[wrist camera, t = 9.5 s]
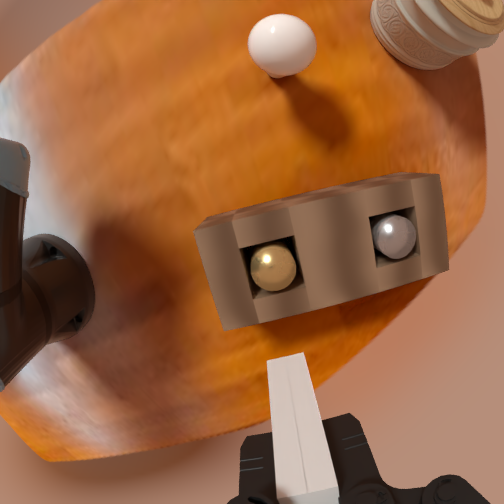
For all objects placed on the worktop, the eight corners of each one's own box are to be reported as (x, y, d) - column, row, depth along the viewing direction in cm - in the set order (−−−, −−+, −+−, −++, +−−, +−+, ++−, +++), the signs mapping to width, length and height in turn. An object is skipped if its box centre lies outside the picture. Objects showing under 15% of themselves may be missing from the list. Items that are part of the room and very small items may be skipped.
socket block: (230, 296, 39) (224, 331, 30) (207, 217, 36) (193, 231, 28) (412, 249, 37) (449, 270, 28) (400, 172, 35) (439, 174, 26)
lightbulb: (314, 76, 32) (337, 42, 22) (270, 104, 33) (278, 76, 23) (281, 37, 31) (291, -8, 20) (237, 64, 32) (232, 24, 21)
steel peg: (355, 246, 36) (380, 265, 28) (348, 209, 35) (373, 220, 27) (388, 237, 35) (419, 254, 28) (382, 201, 34) (414, 210, 27)
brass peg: (254, 271, 36) (255, 297, 29) (245, 234, 35) (242, 252, 28) (292, 262, 36) (302, 286, 28) (283, 225, 35) (292, 240, 27)
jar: (360, -15, 28) (409, -90, 11) (440, 4, 28) (507, -44, 11) (374, 64, 32) (448, 6, 14) (456, 80, 31) (543, 51, 14)
